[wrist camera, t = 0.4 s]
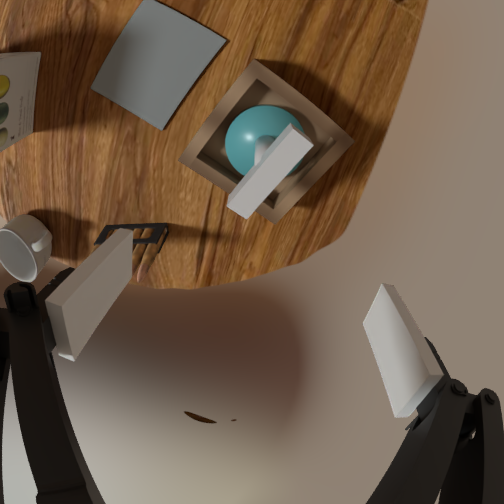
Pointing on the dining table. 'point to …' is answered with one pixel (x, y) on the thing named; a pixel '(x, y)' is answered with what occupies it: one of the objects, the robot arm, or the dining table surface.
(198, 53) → the mat
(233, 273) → the dining table surface
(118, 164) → the dining table surface
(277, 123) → the cover
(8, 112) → the supplement box
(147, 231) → the ammunition clip
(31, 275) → the teacup
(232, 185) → the housing
